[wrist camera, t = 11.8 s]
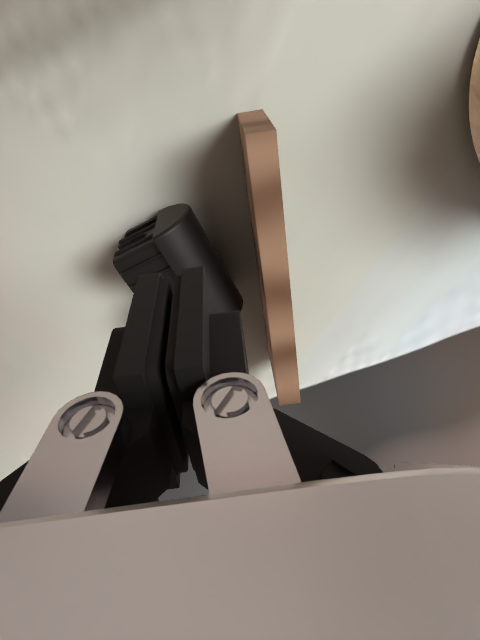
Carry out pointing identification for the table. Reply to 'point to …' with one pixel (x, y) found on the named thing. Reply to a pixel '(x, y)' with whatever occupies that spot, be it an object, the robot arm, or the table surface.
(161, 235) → the end cap
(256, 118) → the walnut board
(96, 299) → the table surface
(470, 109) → the stacked tins on plate
